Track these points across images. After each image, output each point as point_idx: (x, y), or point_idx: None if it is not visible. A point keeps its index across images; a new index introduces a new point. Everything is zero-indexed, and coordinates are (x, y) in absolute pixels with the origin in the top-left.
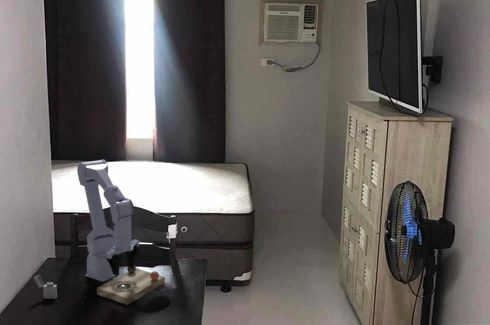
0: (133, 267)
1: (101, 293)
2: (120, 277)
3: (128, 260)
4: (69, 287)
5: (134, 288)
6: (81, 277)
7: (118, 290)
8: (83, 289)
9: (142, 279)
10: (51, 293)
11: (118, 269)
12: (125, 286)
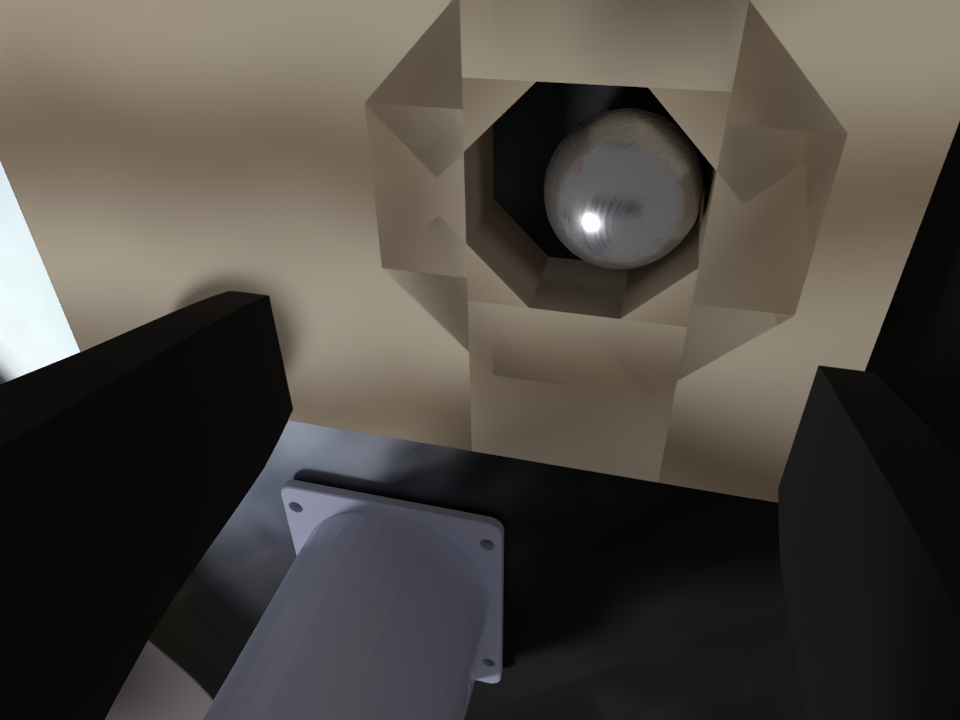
0: (233, 292)
1: None
2: (387, 410)
3: (197, 520)
4: (761, 696)
5: None
6: (536, 685)
7: (771, 194)
8: (744, 596)
9: (211, 99)
10: None
11: (931, 489)
12: (599, 168)
